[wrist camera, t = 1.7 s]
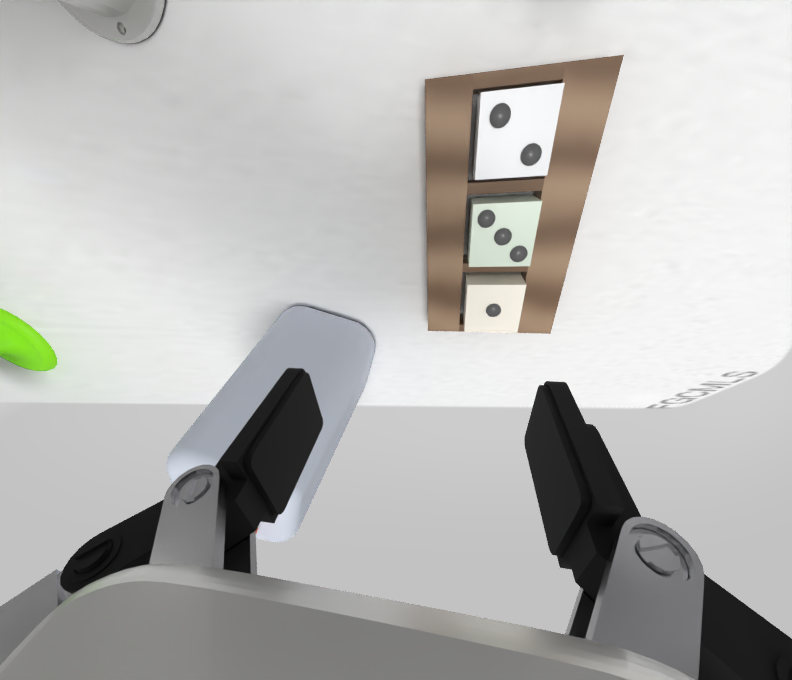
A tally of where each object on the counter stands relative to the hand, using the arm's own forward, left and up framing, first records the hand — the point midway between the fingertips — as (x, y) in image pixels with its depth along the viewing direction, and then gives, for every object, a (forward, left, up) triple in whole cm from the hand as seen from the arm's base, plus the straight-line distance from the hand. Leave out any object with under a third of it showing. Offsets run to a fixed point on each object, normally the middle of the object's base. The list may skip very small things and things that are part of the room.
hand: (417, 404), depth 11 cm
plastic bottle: (+18, -18, -28) cm, 38 cm away
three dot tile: (0, +6, -27) cm, 27 cm away
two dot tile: (-8, +6, -27) cm, 28 cm away
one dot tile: (+8, +6, -27) cm, 28 cm away
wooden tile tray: (0, +6, -28) cm, 29 cm away
